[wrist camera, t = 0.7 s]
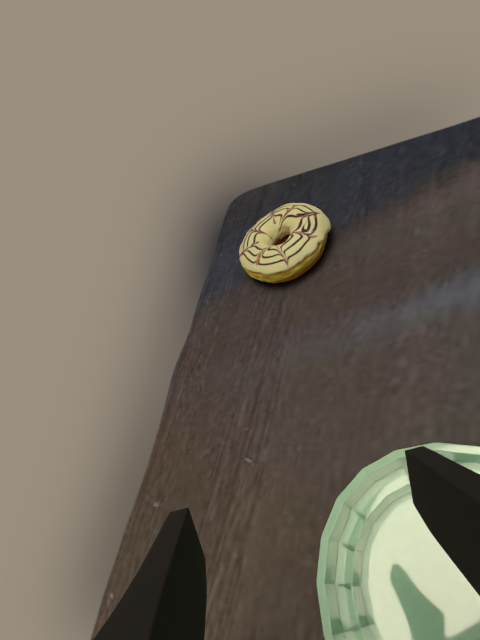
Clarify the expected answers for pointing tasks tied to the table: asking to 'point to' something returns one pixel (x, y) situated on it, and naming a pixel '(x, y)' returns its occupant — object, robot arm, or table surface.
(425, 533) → the mint green dish
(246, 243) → the decorated donut
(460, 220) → the table surface
